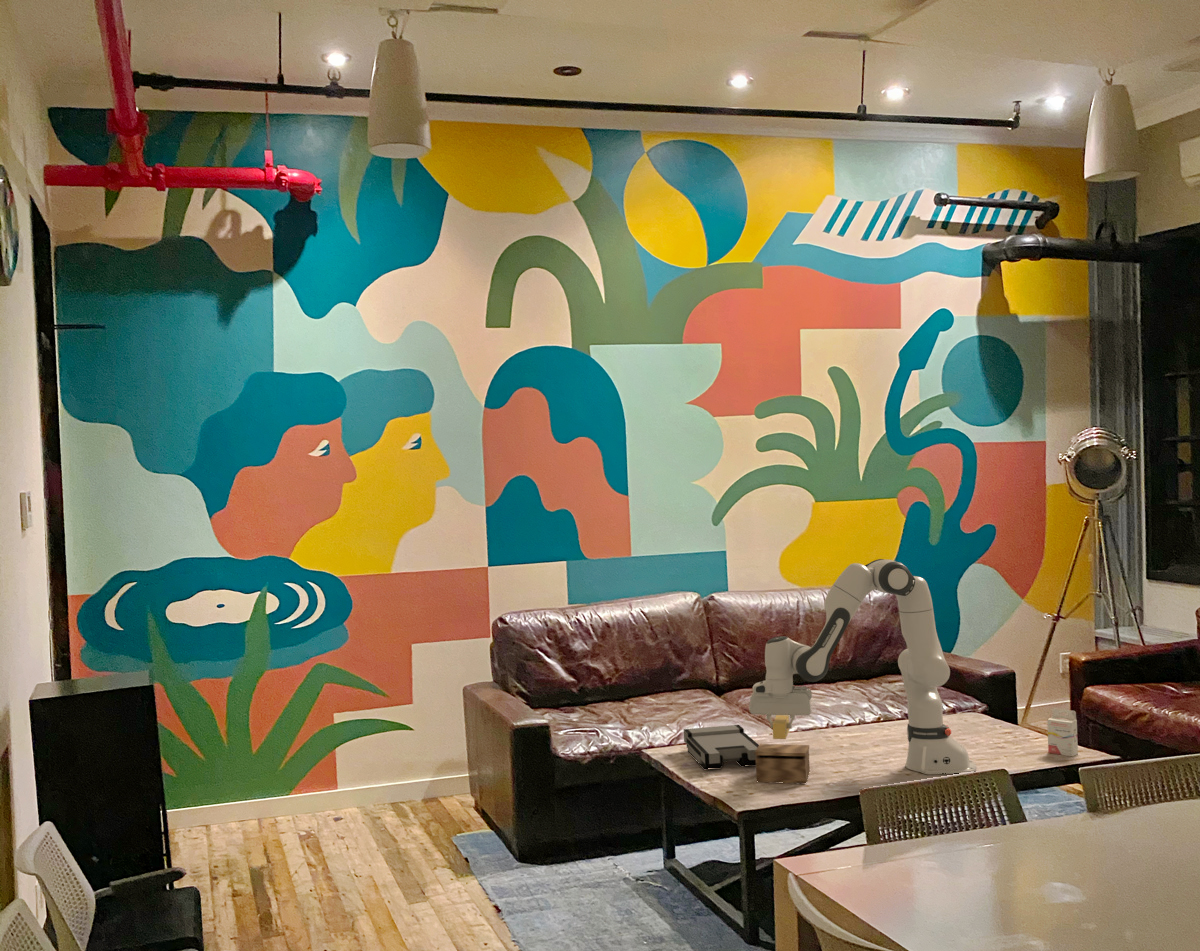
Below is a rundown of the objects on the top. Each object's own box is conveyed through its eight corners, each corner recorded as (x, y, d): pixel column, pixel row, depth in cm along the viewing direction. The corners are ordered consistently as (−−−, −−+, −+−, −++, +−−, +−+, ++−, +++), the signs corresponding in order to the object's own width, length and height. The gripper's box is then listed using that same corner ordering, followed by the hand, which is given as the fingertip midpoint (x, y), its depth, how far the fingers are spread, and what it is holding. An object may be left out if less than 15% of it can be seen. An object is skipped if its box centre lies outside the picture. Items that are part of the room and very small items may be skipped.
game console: (705, 774, 374) (704, 750, 374) (684, 751, 405) (683, 729, 405) (765, 769, 377) (764, 745, 377) (739, 746, 409) (738, 724, 408)
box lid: (809, 748, 370) (809, 745, 370) (805, 756, 356) (805, 753, 356) (760, 747, 375) (760, 744, 375) (754, 755, 361) (754, 751, 361)
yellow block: (789, 730, 371) (788, 715, 371) (785, 739, 359) (784, 723, 359) (777, 730, 372) (776, 715, 372) (773, 738, 360) (772, 723, 360)
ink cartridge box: (1047, 753, 380) (1045, 710, 380) (1053, 750, 384) (1051, 707, 384) (1073, 756, 375) (1071, 713, 374) (1078, 753, 378) (1076, 710, 378)
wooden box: (809, 772, 370) (808, 748, 370) (806, 784, 357) (805, 759, 357) (761, 770, 375) (760, 747, 375) (756, 782, 361) (755, 758, 361)
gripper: (812, 684, 366) (813, 726, 366) (750, 683, 371) (751, 725, 371) (810, 688, 360) (812, 731, 360) (747, 687, 365) (749, 729, 365)
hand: (781, 728), depth 366 cm, fingers closed on yellow block, 4 cm apart
